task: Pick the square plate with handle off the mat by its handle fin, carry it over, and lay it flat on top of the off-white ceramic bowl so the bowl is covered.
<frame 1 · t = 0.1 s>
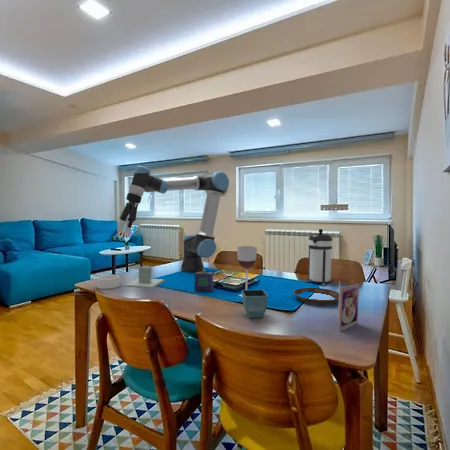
hand: (122, 232, 156), 28 cm above the table, tool tilted 20°, fingers open, 13 cm apart
flask: (203, 290, 149), on the table
plant saucer: (316, 300, 135), on the table
coffee press: (319, 282, 167), on the table
wineglass: (246, 296, 139), on the table
square plate with handle: (145, 275, 160), on the mat
flower pot: (254, 316, 115), on the table
mat: (145, 283, 160), on the table
bowl: (108, 286, 154), on the table
greeting card: (341, 325, 106), on the table
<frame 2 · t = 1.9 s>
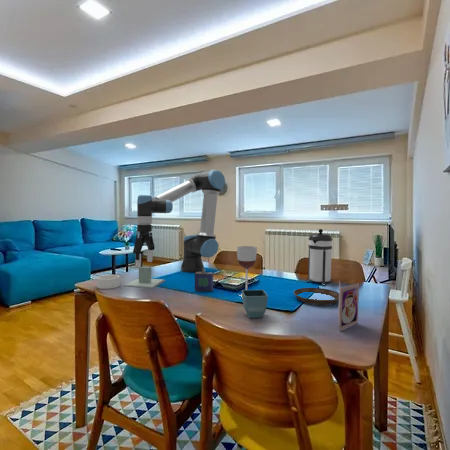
hand: (144, 263, 159), 11 cm above the table, tool pointing down, fingers open, 13 cm apart
nothing on the table moved.
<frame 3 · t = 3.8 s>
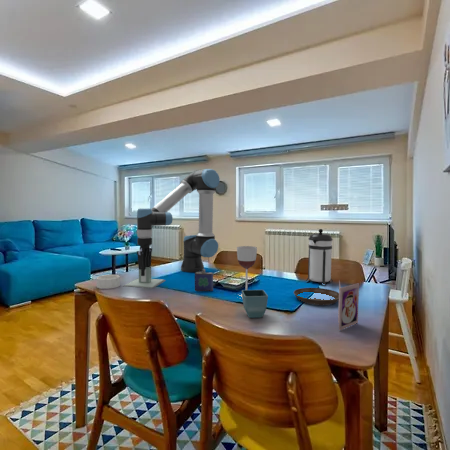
hand: (145, 280, 160), 2 cm above the table, tool pointing down, fingers closed on square plate with handle, 2 cm apart
square plate with handle: (145, 275, 160), on the mat, touching gripper
everything else where it was.
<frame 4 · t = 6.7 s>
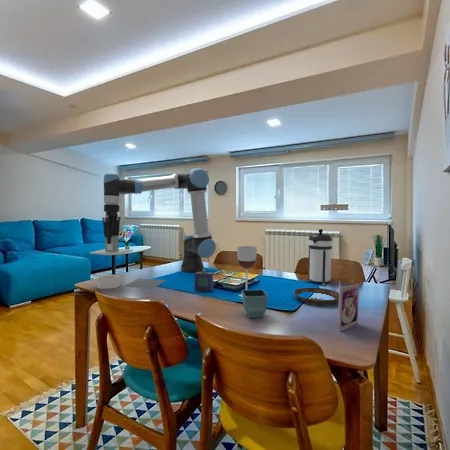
hand: (111, 249, 154), 19 cm above the table, tool pointing down, fingers closed on square plate with handle, 2 cm apart
square plate with handle: (111, 243, 153), point 22 cm above the table, touching gripper
everything else where it was.
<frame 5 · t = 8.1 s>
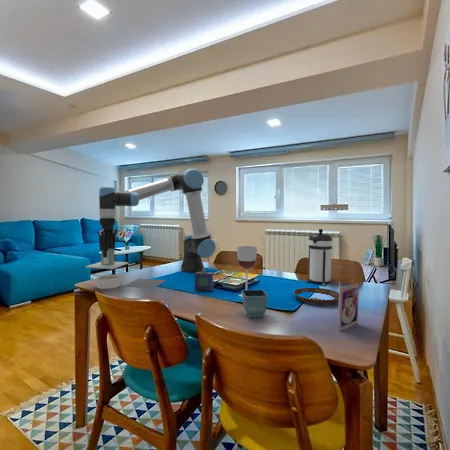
hand: (107, 262, 153), 12 cm above the table, tool pointing down, fingers closed on square plate with handle, 2 cm apart
square plate with handle: (107, 257, 153), point 15 cm above the table, touching gripper
everything else where it was.
when the fingers open (8 cm above the table, at t = 9.4 s): square plate with handle drops 2 cm, resting on bowl.
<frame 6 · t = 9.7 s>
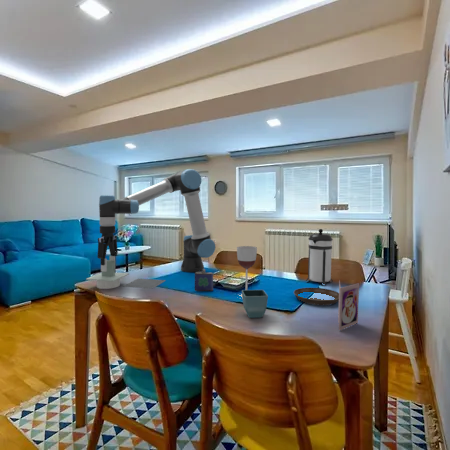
hand: (108, 269, 154), 9 cm above the table, tool pointing down, fingers open, 7 cm apart
square plate with handle: (108, 268, 154), on the bowl, point 9 cm above the table
everything else where it was.
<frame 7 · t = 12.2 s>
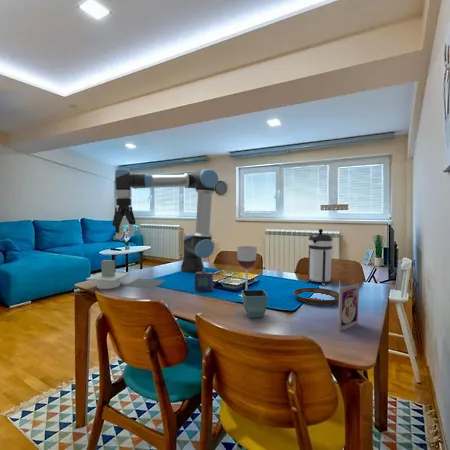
hand: (125, 237, 161), 25 cm above the table, tool pointing down, fingers open, 13 cm apart
nothing on the table moved.
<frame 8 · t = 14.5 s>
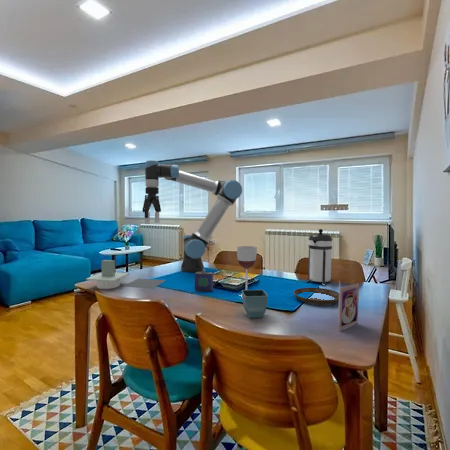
hand: (152, 223, 176), 32 cm above the table, tool pointing down, fingers open, 13 cm apart
nothing on the table moved.
at the end: square plate with handle 0.0 cm off-centre on the bowl, point 9.3 cm above the bowl's base; square plate with handle tilted 0°; the gripper is holding nothing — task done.
